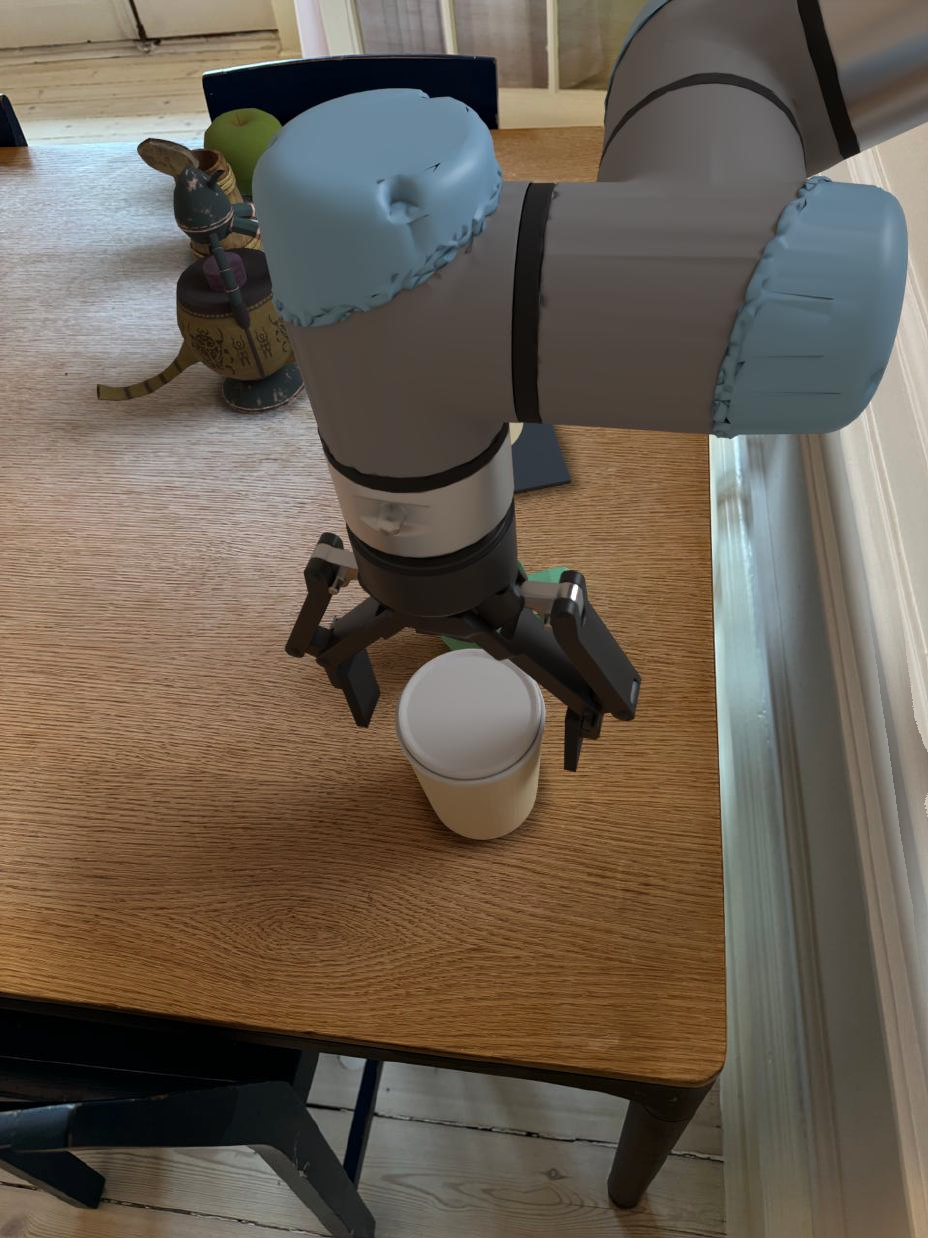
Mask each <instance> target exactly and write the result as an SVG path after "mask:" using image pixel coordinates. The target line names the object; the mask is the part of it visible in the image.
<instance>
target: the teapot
mask: <svg viewBox="0 0 928 1238" xmlns="http://www.w3.org/2000/svg"><path fill="white" fill-rule="evenodd" d="M223 173H225V170H222V169H221V170H216V171H215V172H214V173H213V175H212V176H211V177H209V176H208V175H207V174H205V173H204V172H202V171H201V170H199V169H196V168H193V167H190V166H188V165H186V167H185V168H184V169H183V171H182V172H181V174H180V175H179V177H178V180H177V183H176V186H175V185H174V186H175V187H174V190H173V195H172V196H173V199H172V201H173V202H172V206H173V207H172V209H173V214H174V216H173V217H174V220H175V222H176V225H177V227H178V229H180V230H181V231H182V232H183V233H184V234H185V235H186V236H187V237H188V238H189V239H190V238H191V239H192V240H193V241H194V242H195V243H197V244H199V245H208V246H209V247H208V248H209V251H210V255H207V256H204V257H202V258H200V259H198V260H197V261H195V262H194V261H193V262H192V263H190V264H189V265H188V266H187V267H186V268H185V269H184V270H183V271H182V272H181V273H180V276H179V277H178V279H177V281H176V287H175V288H176V290H175V293H176V294H175V298H176V299H175V302H176V303H175V307H176V310H175V311H176V323H177V327H178V329H179V332H180V334H181V337H182V338H183V341H182V343H181V346H180V349H179V351H178V354H177V356H175V358H174V359H173V361H172V362H171V363H170V364H169V365H168V366H167V367H165V369H164V370H162V371H161V372H159V373H158V374H156V375H154V376H152V377H149V378H148V379H144V380H143V381H140V382H137V383H134V384H131V385H130V384H129V385H127V386H116V387H115V386H110V385H106V384H102V383H97V384H96V399H97V400H98V401H102V402H104V401H105V402H123V401H124V402H125V401H131V400H135V399H139V398H142V397H145V396H148V395H151V394H153V393H155V392H157V391H158V390H159V389H161V388H163V387H165V386H166V385H168V384H169V383H170V382H172V381H173V380H175V378H177V377H178V376H179V375H181V373H183V372H184V371H186V370H187V369H188V368H191V367H192V366H194V365H196V364H198V363H201V364H202V365H204V366H205V367H207V368H208V369H209V370H211V371H212V372H214V373H216V374H217V375H219V376H222V377H225V378H224V380H223V382H222V385H221V389H222V390H221V391H222V397H223V399H224V400H225V401H226V403H227V405H228V406H229V407H231V408H232V409H234V410H236V411H238V412H241V413H246V414H265V413H269V412H273V411H274V412H275V411H277V410H279V409H281V408H283V407H286V406H288V405H289V404H291V403H292V402H294V401H295V400H296V399H297V398H299V397H300V396H301V393H302V392H303V391H304V390H305V386H304V383H303V380H302V377H301V373H300V370H299V367H298V364H297V361H296V358H295V355H294V352H293V349H292V346H291V343H290V340H289V337H288V333H287V330H286V327H285V324H284V321H283V318H279V315H278V313H277V312H276V310H275V308H274V305H273V302H272V299H273V293H272V291H271V290H272V282H271V277H270V273H269V269H268V264H267V260H266V256H265V251H264V250H263V251H262V250H261V251H260V250H257V249H251V248H231V249H227V250H224V249H223V247H222V246H221V244H220V242H221V241H223V240H224V239H226V238H227V237H228V235H229V234H231V233H233V232H234V233H239V234H243V235H247V236H251V237H253V238H256V239H258V240H260V241H262V238H261V234H260V230H259V225H258V221H257V217H256V212H255V208H254V204H253V203H249V202H244V203H235V204H231V203H230V201H229V199H228V197H227V196H226V194H225V193H224V191H223V190H222V189H221V187H220V186H219V185H218V184H217V180H218V178H219V177H220V176H221V175H222V174H223ZM248 219H251V220H248ZM191 239H190V240H191Z"/></svg>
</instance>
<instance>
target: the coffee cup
mask: <svg viewBox="0 0 928 1238" xmlns="http://www.w3.org/2000/svg"><path fill="white" fill-rule="evenodd" d="M539 686H540V685H538V683H537V682H536V681H535V680H534V679H532V678H531V677H530V676H529V675H527V674H526V673H525V672H523V671H522V670H521V669H520V668H518V667H517V666H516V665H515V664H513V663H512V662H511V661H510V660H508V659H506V660H503V661H498V660H496V659H494V658H493V657H492V656H491V655H489V654H488V653H487V652H486V651H484V650H483V649H461V650H456V651H452V650H451V651H448V652H445V653H443V654H440V655H438V656H436V657H434V658H432V659H431V660H428V661H427V662H426V663H425V664H423V665H422V666H421V667H420V668H418V670H416V671H415V673H414V674H412V675H411V677H410V678H409V680H408V681H407V683H406V684H405V686H404V687H403V689H402V690H401V693H400V695H399V697H398V699H397V703H396V707H395V712H394V730H395V736H396V740H397V742H398V745H399V747H400V749H401V751H402V753H403V754H404V756H405V758H406V759H407V760H408V761H409V764H410V765H411V768H412V770H413V772H414V774H415V775H416V778H417V780H418V782H419V783H420V786H421V788H422V790H423V792H424V793H425V795H426V797H427V800H428V801H429V803H430V805H431V807H432V809H433V810H434V813H435V814H436V815H437V817H438V819H440V821H441V822H442V823H443V825H445V826H446V827H447V828H448V829H449V830H451V831H452V832H454V833H455V834H457V835H460V836H461V837H465V838H468V839H472V840H483V841H486V840H487V841H488V840H494V839H498V838H501V837H503V836H505V835H509V834H510V833H512V832H513V831H514V830H516V829H518V827H520V826H521V825H522V824H523V823H524V822H525V820H527V818H528V816H529V815H530V813H531V812H532V810H533V808H534V805H535V803H536V798H537V793H538V788H539V777H540V769H541V768H540V767H541V756H542V746H543V744H542V743H543V735H544V732H545V727H546V719H547V718H546V716H547V714H546V703H545V700H544V696H543V693H542V691H541V689H540V687H539Z"/></svg>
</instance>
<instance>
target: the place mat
mask: <svg viewBox="0 0 928 1238" xmlns="http://www.w3.org/2000/svg"><path fill="white" fill-rule="evenodd" d="M553 425H554V424H538V423H510V436H511V450H512V464H513V478H514V492H513V495H514V494H519V493H524V492H529V491H534V490H540V489H544V488H549V487H550V488H551V487H554V486H555V487H556V486H560V485H565V484H571V483H572V478H571V476H570V473H569V469H568V467H567V464H566V461H565V458H564V454H563V452H562V449H561V445H560V443H559V440H558V437H557V435H556V431H555V429H554V426H553Z"/></svg>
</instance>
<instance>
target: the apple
mask: <svg viewBox="0 0 928 1238" xmlns="http://www.w3.org/2000/svg"><path fill="white" fill-rule="evenodd" d="M282 127H283V126H282V124H281V123H280V121H279V120H278V119H277V118H276V117H275V116H274V115H272V114H271V113H268V112H266V111H264V110H261V109H258V108H255V107H251V108H247V107H246V108H239V109H233V110H230V111H226V112H223V113H221V114H219V116H216V117H215V119H214V120H213V121H212V122H211V123H210V125H208V127H207V129H205V131H204V133H203V146H202V147H203V149H206V148H212V149H216V150H218V151H220V152H221V153H222V154H223V156H224V158H225V160H226V162H227V163H228V164H229V165H230V167H231V169H232V172H233V174H234V176H235V180H236V182H235V183H236V186H237V188H238V191H239V193H240V195H243V196H247V197H250V198H253V196H252V179H253V174H254V170H255V167H256V165H257V162H258V160H259V158H260V157H261V155H262V154H263V153H264V152H265V150H266V148H267V146H268V144H269V142H270V140H271V138H272V137H273V136H274V135H275V134H276V133H277V132H278V131H279V130H280V129H281V128H282Z"/></svg>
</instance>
